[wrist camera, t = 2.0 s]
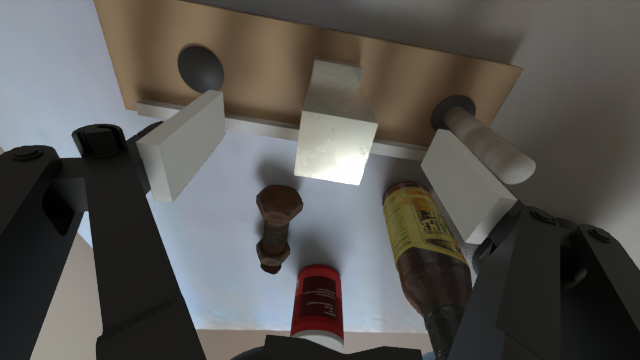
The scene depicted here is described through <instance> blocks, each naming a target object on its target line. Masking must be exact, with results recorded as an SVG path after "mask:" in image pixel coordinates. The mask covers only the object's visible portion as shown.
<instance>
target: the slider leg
mask: <svg viewBox="0 0 640 360" xmlns="http://www.w3.org/2000/svg"><path fill="white" fill-rule="evenodd" d="M362 74H363V67H362V65H361V64H356V63H351V62H346V61H341V60H335V59H330V58H325V57H319V56H315V58H314V64H313V72H312V76H311V80H310V83H309V87H308V91H307V94H306V98H305V102H304V105H303V109H302V115H301V123H300V131H299V139H298V147H297V155H296V163H295V171H294V175H297V176H304V177H310V178H317V179H323V180H330V181H336V182H343V183H349V184H355V185H359V183H360V180H361V177H362V174H363V171H364V167H365V164H366V161H367V158H368V155H369V152H370V149H371V146H372V143H373V139H374V136H375V133H376V130H377V127H378V121H377V119H376V117H375V114H374V112H373V110H372V108H371V105H370V103H369V101H368V98H367V96H366V94H365V91H364V89H363V87H362V84H361V78H362Z"/></svg>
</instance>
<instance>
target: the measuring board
mask: <svg viewBox="0 0 640 360" xmlns="http://www.w3.org/2000/svg"><path fill="white" fill-rule="evenodd" d="M93 1H94V4H95V8H96V11H97V14H98V18H99V21H100V25H101V28H102V31H103V35H104V38H105V41H106V45H107V48H108V51H109V55H110V58H111V61H112V65H113V68H114V71H115V75H116V78H117V82H118V85H119V88H120V92H121V95H122V98H123V102H124V105H125V108H126V109H127V110H133V111H137V112H138V115H141V116H147V117H153V118H160V119H166V120H168V119H169V118H170V117H172V116H173V115H175V114H176V113H177V112H179V111H180V110H182V109H183V108H184V107H186V106H187V105H189V104H190V103H191V102H193V101H194V100H196V99H197V98H198V97H200V96H201V95H203V94H204V93H205V92H207V91H208V90H215V91H221V92H223V101H224V116H225V129H227V130H233V131H239V132H245V133H251V134H257V135H263V136H269V137H275V138H281V139H287V140H293V141H298V139H299V131H300V123H301V115H302V109H303V105H304V102H305V98H306V94H307V91H308V87H309V83H310V80H311V76H312V72H313V64H314V58H315V56H319V57H325V58H330V59H335V60H341V61H346V62H351V63H356V64H361V65H362V67H363V74H362V78H361V84H362V87H363V89H364V91H365V94H366V96H367V98H368V101H369V103H370V105H371V108H372V110H373V112H374V114H375V117H376V119H377V121H378V127H377V130H376V133H375V136H374V139H373V143H372V146H371V149H370V152H369V153H373V154H379V155H385V156H391V157H397V158H403V159H409V160H415V161H421V162H423V159H424V157H425V155H426V153H427V151H428V149H429V147H430V145H431V143H432V141H433V139H434V137H435V135H436V132H437V130H438V129H443V130H448V131H451V132H452V133H453V134H454V135H455V136H456V137H457V138H458V139H459V140H460V141H461V143H462V144H463V145H464V146H465V147H466V148H467V149H468V150H469V151H470V152H471V153H472V154H473V153H474V154H475V155H476V156H477V157H478V158H479V159H480V160H481V161H482V162H483V163H484V164H485V165H486V166H487V167H488V168H490V169H491V170H492V171H493V172H494V173H495V174H496V175H497V176H498V177H499V178H500V179H501V180H502V181H503V182H504V183H506V184H518V183H521V182H523V181H525V180H527V179H528V178H529V177H530V176H531V175H532V174H533V173H534V171H535V169H536V164H535V162H534V161H533V160H532V159H531V158H529V157H528V156H527V155H525V154H524V153H523V152H521V151H520V150H518V149H517V148H516V147H514V146H513V145H512V144H510V143H509V142H508V141H506V140H505V139H504V138H502V137H501V136H499V135H498V134H497V133H495V132H494V131H493V130H491V129H490V128H489V126H490V124H491V123H492V121H493V119H494V118H495V116H496V114H497V113H498V111H499V109H500V108H501V106H502V104H503V103H504V101H505V99H506V98H507V96H508V94H509V93H510V91H511V89H512V88H513V86H514V84H515V83H516V81H517V79H518V77H519V76H520V74H521V72H522V71H523V68H520V67H517V66H513V65H510V64H505V63H500V62H495V61H490V60H485V59H480V58H475V57H469V56H464V55H459V54H454V53H449V52H444V51H439V50H434V49H429V48H424V47H419V46H414V45H409V44H404V43H399V42H394V41H388V40H383V39H378V38H373V37H368V36H363V35H358V34H353V33H348V32H343V31H338V30H333V29H328V28H323V27H318V26H313V25H308V24H302V23H297V22H292V21H287V20H282V19H277V18H272V17H267V16H262V15H257V14H252V13H247V12H242V11H237V10H232V9H227V8H222V7H216V6H211V5H206V4H201V3H196V2H191V1H186V0H93Z"/></svg>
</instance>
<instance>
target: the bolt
mask: <svg viewBox="0 0 640 360" xmlns="http://www.w3.org/2000/svg"><path fill="white" fill-rule="evenodd" d="M256 203H257V205H258V208H259V210H260V212H261V214H262V217H263V219H265V226H264V236H263V238H262V239H261V240H260V241H259V242H258V244H257V246H256V250H257V254H258V257H259V260H260V262H261V268H262V269H263V270H264V271H265V272H268V273H271V274H276V273H278V271H279V270H280V269H281V264H282V263H283V262H284V261H285V259H286V258H287V257H288V256H289V254H290V248H289V245H288V242H287V240H286V237H287V231H288V226H289V222H290V221H291V220H292V219H293V218H294V217H295V216H296V215H297V214H298V213H299V212H301V211H302V208H303V202H302V199H301V197H300V195H299V193H298V192H297V191H296V190H294V189H292V188H290V187H286V186H282V185H272V186H268V187H266V188H264V189H263V190H262V191H261V192H260V193H259V194H258V195H257V199H256Z"/></svg>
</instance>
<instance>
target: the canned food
mask: <svg viewBox="0 0 640 360" xmlns="http://www.w3.org/2000/svg"><path fill="white" fill-rule="evenodd" d="M290 337H296V338H306V339H308V340H311V341H313V342H315V343H318V344H320V345H323V346H325V347H328V348H330V349H333V350H335V351H338V352H340V353H341V352H342V351H343V345H344V333H343V312H342V291H341V279H340V277H339V274H338V273H337V272H336V270H334V269H333V268H331V267H329V266H325V265H311V266H308V267H305V268H304V269H302V270H301V272H300V273H299V276H298V278H297V285H296V293H295V301H294V309H293V317H292V325H291V334H290Z"/></svg>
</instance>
